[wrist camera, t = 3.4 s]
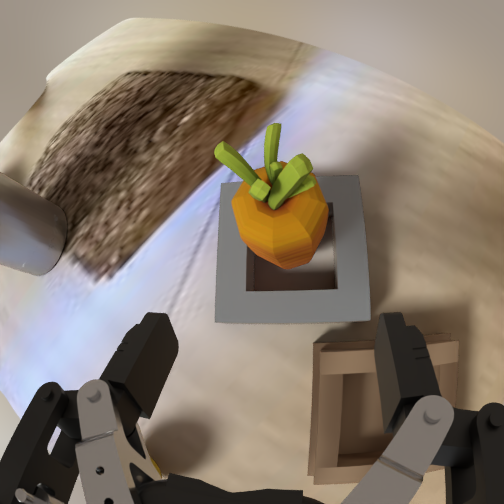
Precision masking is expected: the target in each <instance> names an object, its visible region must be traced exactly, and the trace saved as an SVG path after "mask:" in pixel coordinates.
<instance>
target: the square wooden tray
mask: <svg viewBox="0 0 504 504" xmlns="http://www.w3.org/2000/svg"><path fill="white" fill-rule="evenodd" d="M424 339H425V342H426V345H427V349H428V351H429V355H430V359H431V361H432V364H433V368H434V371H435V375H436V378H437V382H438V386H439V389H440V393H441V395H442V397H443V398H445V399H446V400H447V401H448V402H449V403H450V404H451V405H452V407H454V408H455V404H456V393H457V380H458V358H459V341H455V340H450V333H442V334H434V335H425V336H424ZM374 345H375V340H367V341H348V342H321V343H313V386H312V412H311V432H310V448H309V462H308V475H307V476H314V485H322V484H346V483H359V482H360V481H361V480H362V478H363V477H364V476H365V475H366V474H367V472H368V471H369V470H370V468H371V467H372V466H373V465H374V463H375V462H376V461H377V460H378V458H379V457H380V456H381V455H382V454H383V452H384V451H385V450H386V448H387V447H388V445H389V444H390V443H391V441H392V440H393V433H386V434H384V430H383V420H382V410H381V401H380V393H379V386H378V378H377V371H376V365H375V358H374ZM444 468H445V466H438V465H430V466H429V467H428V469H427V471H426V472H425V473H427V472H432V471H436V470H440V469H444Z"/></svg>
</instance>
